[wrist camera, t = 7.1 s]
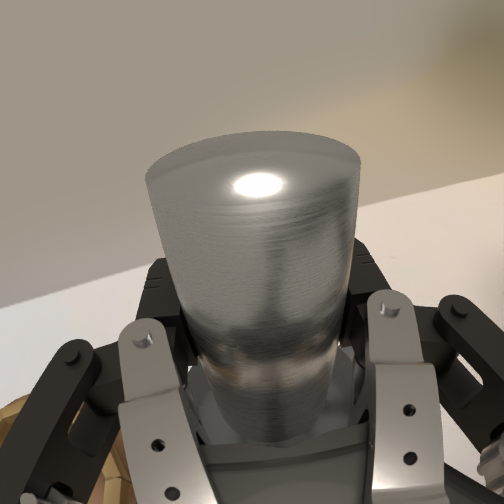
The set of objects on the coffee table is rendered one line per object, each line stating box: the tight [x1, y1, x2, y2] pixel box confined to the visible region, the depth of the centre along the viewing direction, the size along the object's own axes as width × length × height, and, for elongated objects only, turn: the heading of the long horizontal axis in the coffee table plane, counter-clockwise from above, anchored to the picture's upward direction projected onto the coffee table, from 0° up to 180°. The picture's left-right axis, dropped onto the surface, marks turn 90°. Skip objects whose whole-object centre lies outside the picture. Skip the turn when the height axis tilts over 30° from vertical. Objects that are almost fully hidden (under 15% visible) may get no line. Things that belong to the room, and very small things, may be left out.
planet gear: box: [145, 131, 361, 448], centre depth 9 cm, size 9×9×11 cm
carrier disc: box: [0, 394, 137, 504], centre depth 11 cm, size 17×17×3 cm
